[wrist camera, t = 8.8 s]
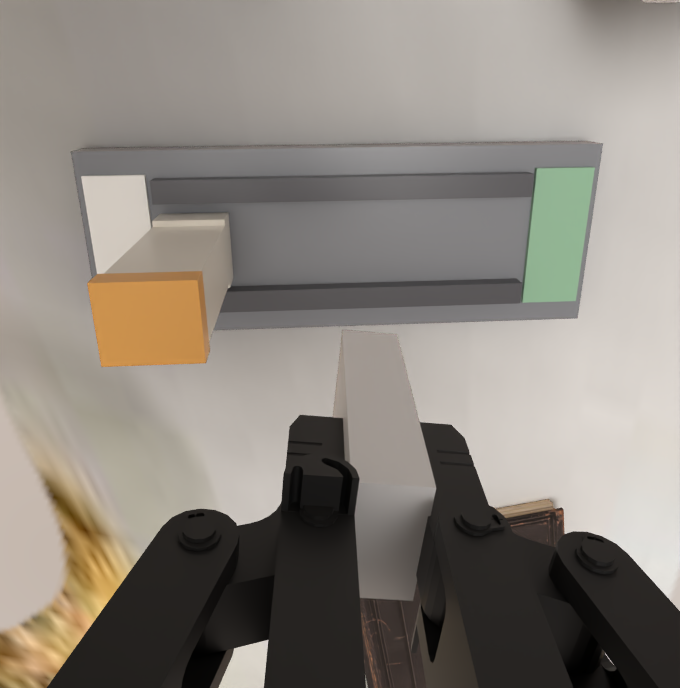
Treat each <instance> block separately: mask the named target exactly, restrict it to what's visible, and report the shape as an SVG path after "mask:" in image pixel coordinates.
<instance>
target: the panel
mask: <svg viewBox="0 0 680 688" xmlns="http://www.w3.org/2000/svg"><path fill="white" fill-rule="evenodd" d="M602 146H603V144H602V143H596V142H590V141H553V142H485V143H417V144H349V145H281V146H212V147H144V148H83V149H79V150H75V151H72V152H71V154H72V160H73V166H74V172H75V178H76V184H77V190H78V196H79V202H80V208H81V214H82V220H83V226H84V232H85V238H86V244H87V250H88V256H89V262H90V268H91V274H92V278H93V277H95V276H96V275H97V274H104V273H105V272H106V271H107V270H108V269H109V268H110V267H111V266H112V265H113V264H114V263H115V262H116V261H117V260H118V259H120V258H121V257H122V256H123V255H124V254H125V253H126V252H127V251H128V250H129V249H130V248H131V247H132V246H133V245H134V244H135V243H136V242H138V241H139V240H140V239H141V238H142V237H143V236H144V235H145V234H146V233H147V232H148V231H149V230H150V229H151V228H152V227H153V225H152V221H153V220H154V219H155V218H156V217H157V216H158V215H159V214H177V213H225V212H228V213H229V226H230V239H231V252H232V265H233V280H232V283H231V286H230V288H228V289H227V291H226V294H225V297H224V300H223V303H222V306H221V309H220V312H219V315H218V318H217V321H216V324H215V327H214V330H234V329H264V328H295V327H326V326H356V325H387V324H418V323H449V322H479V321H510V320H541V319H571V318H578V311H579V304H580V297H581V290H582V284H583V277H584V270H585V263H586V256H587V249H588V242H589V236H590V229H591V222H592V215H593V208H594V201H595V194H596V188H597V181H598V174H599V167H600V160H601V153H602Z"/></svg>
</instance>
